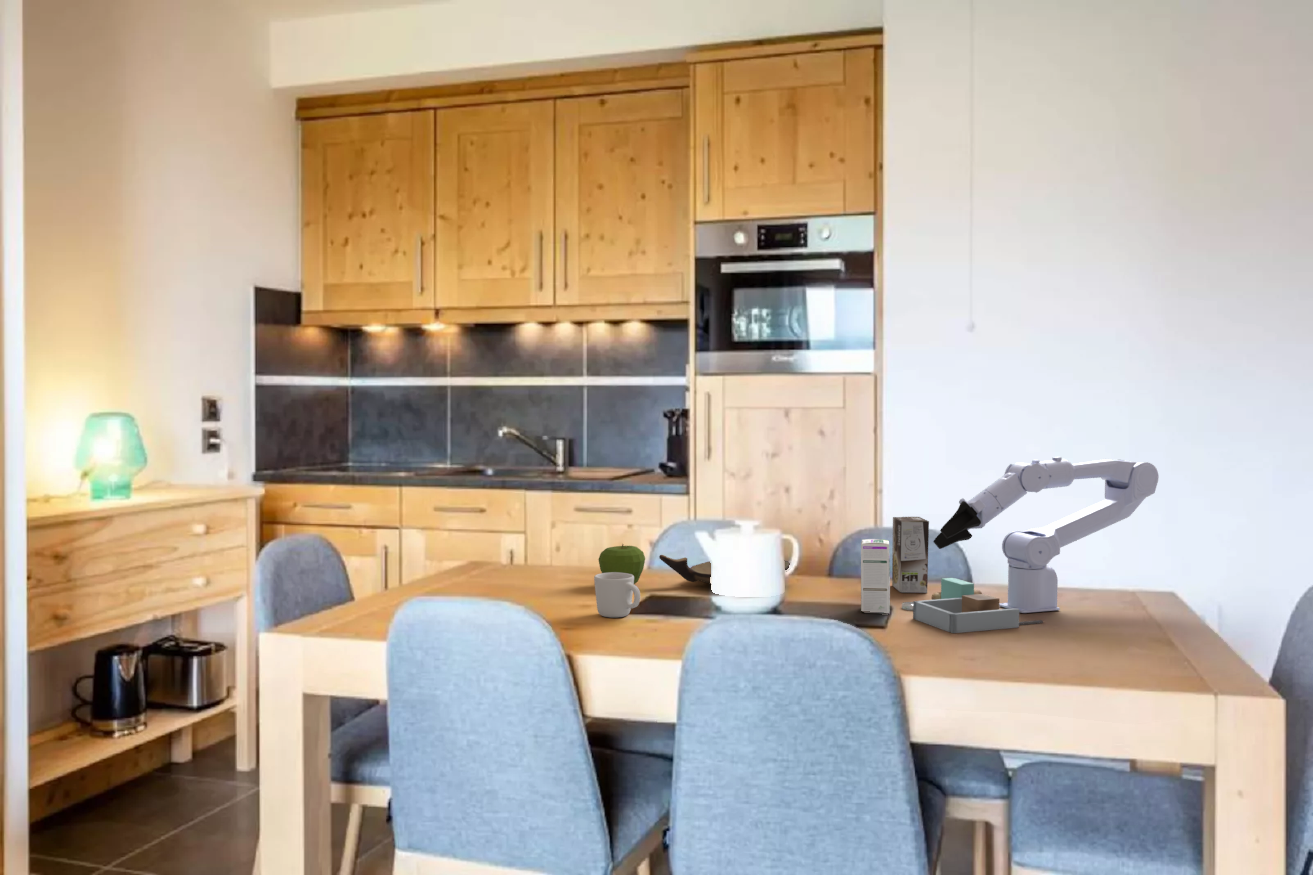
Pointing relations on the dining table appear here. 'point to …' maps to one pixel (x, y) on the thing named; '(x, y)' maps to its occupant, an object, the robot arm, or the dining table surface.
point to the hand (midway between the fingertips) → (940, 539)
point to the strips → (1030, 622)
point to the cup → (615, 594)
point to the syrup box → (875, 575)
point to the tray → (962, 616)
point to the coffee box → (910, 554)
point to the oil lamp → (693, 569)
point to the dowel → (938, 595)
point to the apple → (622, 560)
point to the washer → (907, 606)
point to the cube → (979, 603)
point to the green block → (955, 588)
